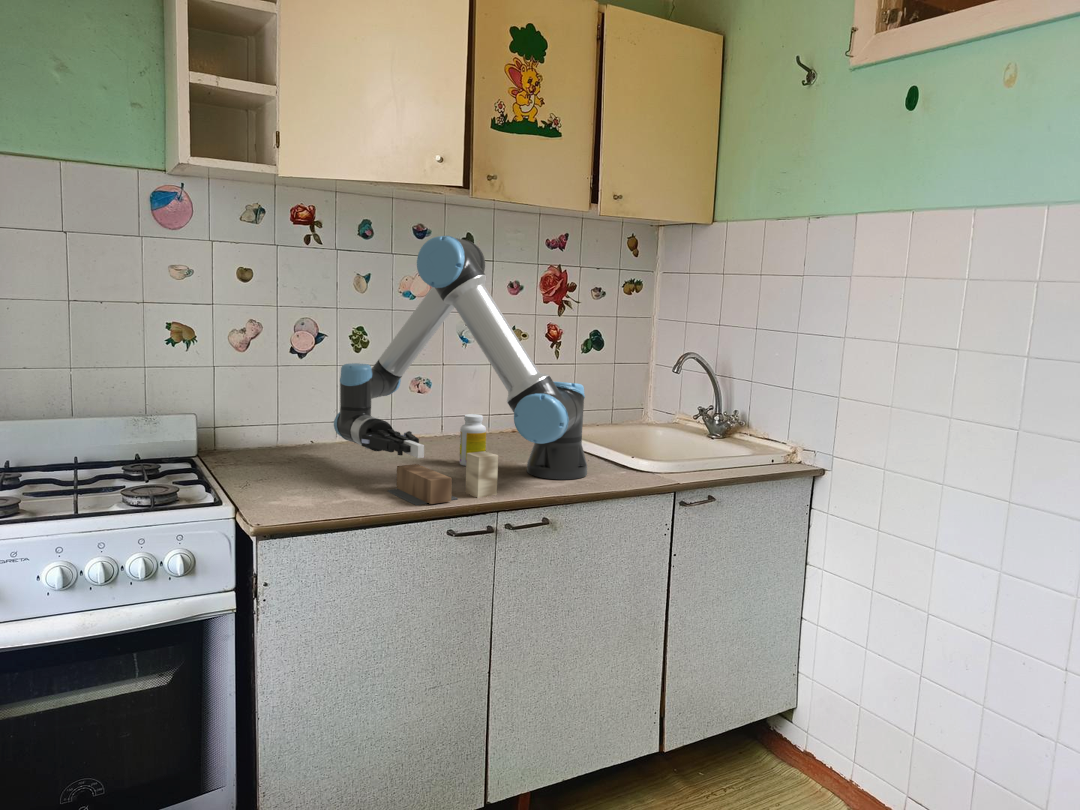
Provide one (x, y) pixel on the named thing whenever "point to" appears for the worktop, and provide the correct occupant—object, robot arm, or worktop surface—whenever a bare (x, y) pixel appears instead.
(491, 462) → the birch block
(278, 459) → the worktop surface
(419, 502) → the mat
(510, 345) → the robot arm
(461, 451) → the supplement bottle
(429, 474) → the walnut block
